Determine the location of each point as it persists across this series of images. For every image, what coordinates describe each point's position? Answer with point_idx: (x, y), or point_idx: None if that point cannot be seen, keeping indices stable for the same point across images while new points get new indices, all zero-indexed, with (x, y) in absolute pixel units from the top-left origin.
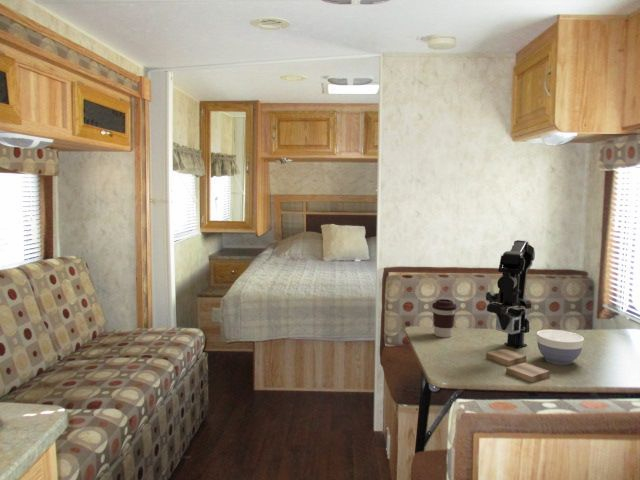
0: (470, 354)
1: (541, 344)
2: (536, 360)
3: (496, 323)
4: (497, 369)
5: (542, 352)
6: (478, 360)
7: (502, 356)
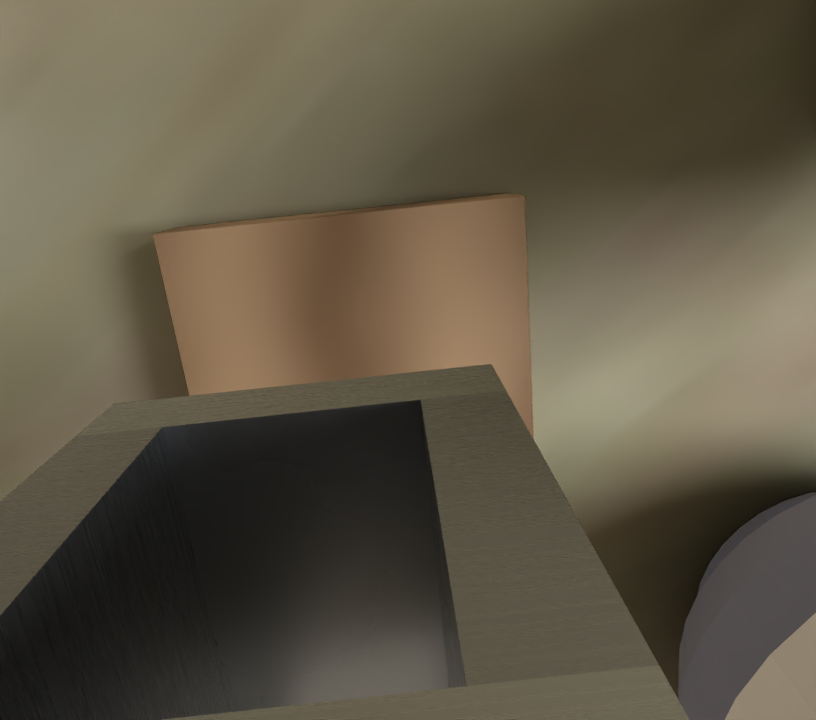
0: (67, 4)
1: (724, 712)
2: (636, 511)
3: (11, 519)
4: None
5: (698, 621)
6: (28, 245)
7: None
